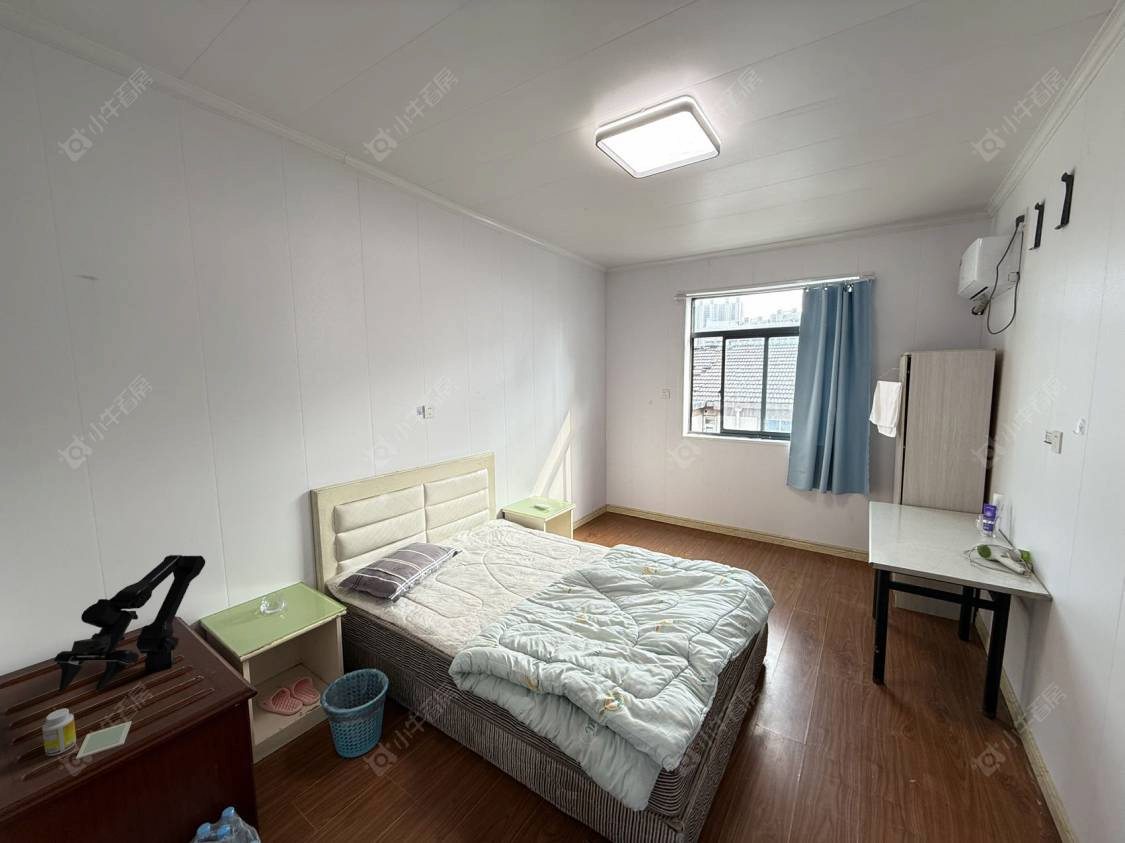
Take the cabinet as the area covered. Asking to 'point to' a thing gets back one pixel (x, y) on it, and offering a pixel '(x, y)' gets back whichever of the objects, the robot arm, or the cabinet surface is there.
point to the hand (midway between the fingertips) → (78, 691)
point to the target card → (104, 740)
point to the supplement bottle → (59, 732)
